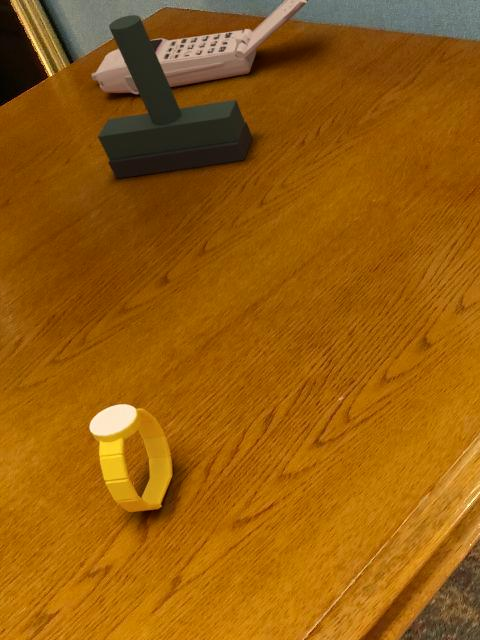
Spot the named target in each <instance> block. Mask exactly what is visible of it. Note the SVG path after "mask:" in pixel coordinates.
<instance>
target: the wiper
mask: <svg viewBox="0 0 480 640" xmlns="http://www.w3.org/2000/svg"><path fill="white" fill-rule="evenodd" d="M108 28H109V30H110V33H111V35H112V37H113V39H114V41H115V44H116V46H117V49H119V50H120V52H121V55H122V57H123V59H124V61H125V63H126V65H127V68H128V70H129V72H130V74H131V76H132V79H133V81H134V83H135V85H136V87H137V90H138V92H139V94H138V95H139V96H140V99H141V101H142V102H143V105H144V107H145V109H146V112H147V113H139V114H133V115H126V116H120V117H114V118H108V119H107V120H106V122H105V124H104V125H103V127H102V128H101V130H100V132H99V134H98V135H97V138H98V140H99V142H100V144H101V146H102V149H103V150H104V152H105V154H106V156H107V158H108V165H109V167H110V169H111V171H112V173H113V175H114V177H115V178H116V179H117V180H118V179H125V178H132V177H139V176H145V175H151V174H159V173H167V172H173V171H179V170H186V169H193V168H200V167H207V166H213V165H220V164H227V163H234V162H242V161H245V159H246V156H247V153H248V152H249V148H250V146H251V143H252V140H253V136H252V133H251V130H250V128H249V125H248V122H247V121H245V120H244V119H245V118H244V116H243V114H242V111H241V109H240V106H239V103H238V101H237V99H232V100H225V101H219V102H212V103H207V104H200V105H193V106H187V107H180V106H179V104H178V102H177V100H176V97H175V95H174V92H173V90H172V87H170V85H169V83H168V81H167V79H166V76H165V74H164V72H163V69H162V67H161V65H160V62H159V60H158V58H157V55H156V53H155V51H154V48H153V46H152V44H151V41H150V40H151V39H150V36H149V34H148V32H147V30H146V27H145V25H144V23H143V20H142V19H141V17H140V16H139V15H136V14H130V15H125V16H121V17H119V18H117V19H114V20H113V21H111V23H110V24H109V25H108Z"/></svg>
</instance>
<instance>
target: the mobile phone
mask: <svg viewBox="0 0 480 640" xmlns="http://www.w3.org/2000/svg"><path fill="white" fill-rule="evenodd" d="M308 1H309V0H284V1H283V2H281V4H279V6H277V8H275V10H273V11H272V12H271V13H270V14H269V15H268V16H267V17H266V18H265V19H264V20H263V21H262V22H261V23H260V24H259V25H258V26H256V28H254V30H252V29H250V28H245V29H244V30H243V29H241V30H233V31H227V32H219V33H211V34H206V35H199V36H191V37H190V36H189V37H183V38H177V39H170V40H168V39H166V38H163V37H161V38H155V39H150V41H151V44H152V46H153V48H154V51H155V53H156V55H157V58H158V60H159V62H160V65H161V67H162V69H163V72H164V74H165V76H166V79H167V81H168V83H169V85H170V88H173V87H180V86H187V85H192V84H199V83H203V82H209V81H214V80H220V79H225V78H231V77H236V76H237V77H238V76H242V75H248V74H249V73H251V68H252V66H253V64H254V61H255V57H256V55H257V49H258V48H259V47H260V46H261V45H262V44H263V43H265V41H266V40H268V39H269V38H270V37H271V36H272V35H273V34H274V33H276V32H277V31H278V30H279V29H280V28H281V27H283V26H284V25H285V24H286V23H287V22H288V21H289V20H290V19H291V18H293V17H294V16H295V15H296V14H297V13H299V11H300V10H301V9H303V7H305V6H306V4H307V3H308ZM91 78H92V80H93V81H97V82H98V84H99V87H100V89H101V90H102V92H104V93H110V94H112V93H113V94H134V95H140V94H139V92H138V90H137V87H136V85H135V83H134V81H133V79H132V76H131V74H130V72H129V70H128V68H127V65H126V63H125V61H124V59H123V57H122V55H121V52H120V50H119V48H117V49H115V50H112V51H110V52H108V53H107V54H106V55H105V57H104V58H103V59H102V61H101V63H100V65H99V67H98V68H97V70H96V71H95V72H92V73H91Z"/></svg>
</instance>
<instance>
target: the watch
mask: <svg viewBox="0 0 480 640" xmlns="http://www.w3.org/2000/svg"><path fill="white" fill-rule="evenodd" d="M89 431H90V433H91V435H92V436H93V438H94V440H95V441H97V442H98V443H99V444H98V457H99V464H100V469H101V473H102V477H103V481H104V483H105V486H106V489H108V491H109V493H110V496H111V497H112V499H113V500H114V501H115V503H116V504H118V505H119V506H120V507H121V508H123V509H124V511H125V512H129V513H134V512H144V511H154V510H159V509H160V508H162V506H163V505H162V502H163V500H164V499H165V495H166V493H167V490H168V488H169V486H170V483H171V480H172V478H173V460H172V456H171V455H172V453H171V450H170V446H169V443H168V439H167V436H166V434H165V431H164V430H163V428H162V426H161V425H160V423H159V421H158V420H157V418H156V417H155V416H154V415H153V414H151V413H150V412H149V411H147V410H145V409H144V408H142V407H139V408H136V407H134V406H133V405H131V404H126V403H124V404H123V403H122V404H115V405H111V406H109V407H107V408H104V409H102V410H101V411H99V412H98V413H97V414H96V415H95V416H94V417H93V418H92V419H91V421H90V423H89ZM137 432H138V433H139V435H140V436H141V438H142V441H143V445H144V447H145V451H146V454H147V457H148V472H149V473H148V475H149V478H148V482H147V484H146V486H145V489H144V491H143V493H142V495H141V496H139V494H138V492H137V491H136V488H135V487H134V484H133V483H132V481H131V479H130V476H129V471H128V467H127V461H126V457H125V440H127V439H129V438H130V437H132V436H133V435H134V434H135V433H137Z"/></svg>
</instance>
